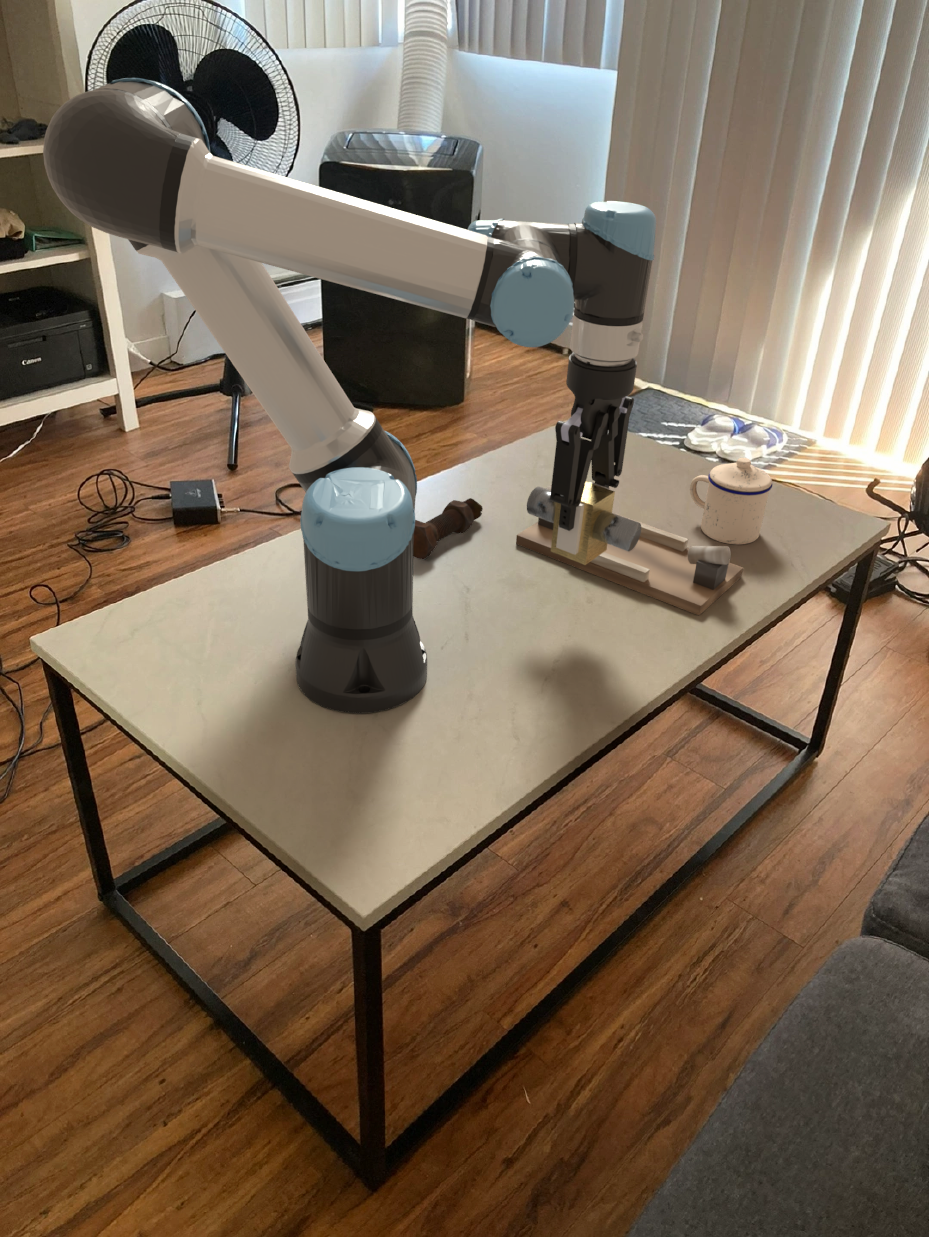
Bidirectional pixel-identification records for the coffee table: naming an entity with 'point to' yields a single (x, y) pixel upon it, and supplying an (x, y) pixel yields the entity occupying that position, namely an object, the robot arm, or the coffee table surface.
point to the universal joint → (588, 522)
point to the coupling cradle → (653, 565)
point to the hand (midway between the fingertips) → (579, 541)
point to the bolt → (444, 526)
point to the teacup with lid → (733, 501)
